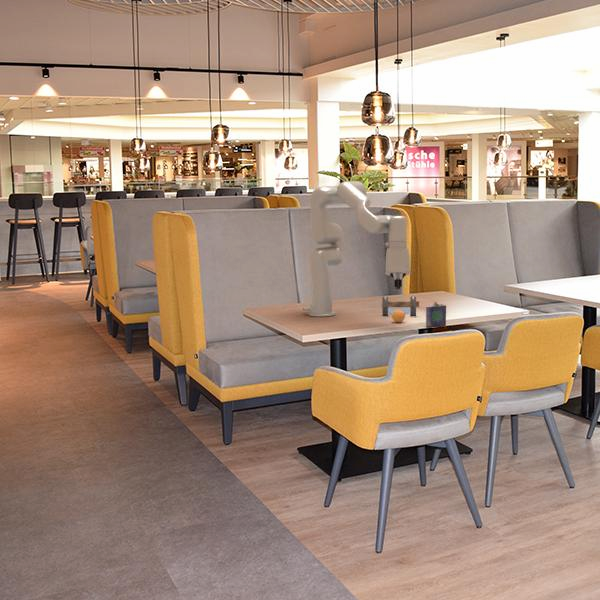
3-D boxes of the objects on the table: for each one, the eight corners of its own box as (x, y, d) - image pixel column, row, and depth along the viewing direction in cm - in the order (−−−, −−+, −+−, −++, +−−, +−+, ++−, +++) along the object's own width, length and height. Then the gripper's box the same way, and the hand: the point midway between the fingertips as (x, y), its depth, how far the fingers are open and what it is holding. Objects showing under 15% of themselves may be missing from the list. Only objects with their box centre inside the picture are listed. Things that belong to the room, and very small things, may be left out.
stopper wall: (382, 306, 391) (382, 301, 391) (382, 306, 393) (382, 301, 393) (419, 306, 388) (419, 301, 388) (419, 306, 390) (419, 301, 390)
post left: (382, 316, 363) (382, 297, 362) (382, 315, 366) (382, 296, 364) (388, 316, 363) (387, 297, 361) (388, 315, 365) (388, 296, 364)
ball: (391, 323, 345) (391, 310, 344) (392, 321, 351) (392, 308, 350) (404, 323, 344) (404, 310, 344) (404, 321, 350) (404, 308, 349)
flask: (427, 327, 334) (427, 302, 332) (424, 326, 336) (424, 301, 335) (447, 326, 337) (447, 301, 335) (443, 325, 339) (443, 300, 338)
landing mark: (384, 313, 371) (384, 313, 371) (385, 308, 385) (385, 308, 385) (414, 313, 369) (414, 313, 369) (414, 308, 383) (414, 308, 383)
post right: (410, 316, 361) (410, 297, 360) (410, 315, 364) (410, 296, 362) (416, 316, 361) (416, 297, 360) (416, 315, 363) (416, 296, 362)
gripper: (379, 246, 331) (380, 289, 333) (415, 245, 328) (415, 289, 331) (380, 245, 338) (380, 287, 341) (415, 244, 336) (416, 287, 338)
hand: (398, 288), depth 336 cm, fingers closed
